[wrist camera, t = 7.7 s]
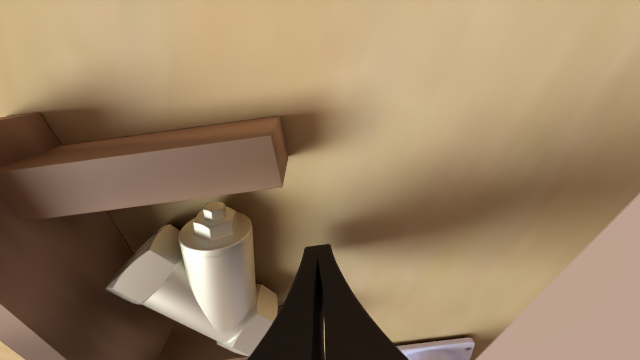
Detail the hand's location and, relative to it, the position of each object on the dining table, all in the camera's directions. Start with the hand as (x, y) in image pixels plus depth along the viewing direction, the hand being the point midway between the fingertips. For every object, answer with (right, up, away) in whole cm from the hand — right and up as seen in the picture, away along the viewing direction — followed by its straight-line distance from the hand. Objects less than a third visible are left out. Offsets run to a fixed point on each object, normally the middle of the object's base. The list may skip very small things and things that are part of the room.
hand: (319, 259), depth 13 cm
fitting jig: (-7, 0, +1) cm, 7 cm away
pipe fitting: (-5, 0, +2) cm, 6 cm away
